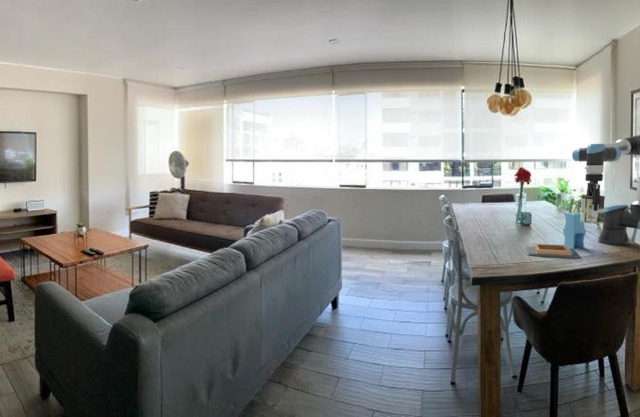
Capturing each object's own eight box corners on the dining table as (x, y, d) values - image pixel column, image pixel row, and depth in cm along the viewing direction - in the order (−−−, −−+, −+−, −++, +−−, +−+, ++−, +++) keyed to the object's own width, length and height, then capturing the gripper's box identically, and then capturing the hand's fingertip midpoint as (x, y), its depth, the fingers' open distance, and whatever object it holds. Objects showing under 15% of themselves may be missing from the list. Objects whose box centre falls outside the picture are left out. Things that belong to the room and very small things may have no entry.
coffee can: (597, 220, 216) (599, 194, 214) (607, 223, 206) (609, 196, 204) (576, 220, 218) (577, 195, 216) (585, 223, 208) (586, 197, 206)
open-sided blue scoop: (574, 245, 238) (575, 212, 235) (584, 247, 230) (586, 213, 227) (562, 246, 236) (564, 212, 234) (572, 248, 229) (574, 214, 226)
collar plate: (573, 250, 224) (573, 245, 224) (579, 258, 209) (580, 252, 208) (525, 248, 233) (525, 243, 233) (528, 255, 218) (528, 249, 217)
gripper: (580, 172, 220) (578, 212, 223) (591, 174, 199) (589, 218, 202) (596, 172, 218) (594, 212, 220) (609, 174, 197) (606, 218, 200)
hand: (591, 215), depth 211 cm, fingers closed on coffee can, 10 cm apart
